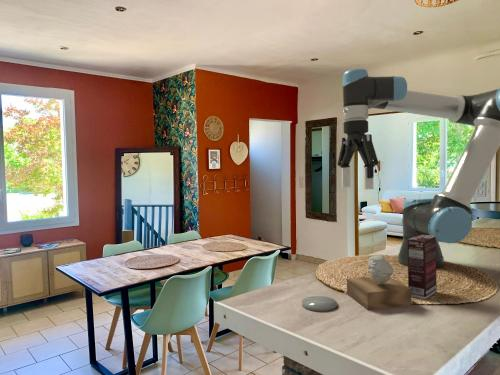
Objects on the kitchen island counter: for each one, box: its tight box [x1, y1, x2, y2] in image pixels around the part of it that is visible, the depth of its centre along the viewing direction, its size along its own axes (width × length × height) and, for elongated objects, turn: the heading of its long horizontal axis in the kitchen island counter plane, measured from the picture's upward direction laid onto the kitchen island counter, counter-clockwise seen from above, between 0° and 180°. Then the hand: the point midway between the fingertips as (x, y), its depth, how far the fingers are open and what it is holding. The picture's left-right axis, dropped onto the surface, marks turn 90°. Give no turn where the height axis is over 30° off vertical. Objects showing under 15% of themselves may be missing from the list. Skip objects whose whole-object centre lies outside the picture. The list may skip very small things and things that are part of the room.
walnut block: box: [346, 276, 412, 311], centre depth 102 cm, size 12×12×5 cm
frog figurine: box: [367, 254, 394, 283], centre depth 100 cm, size 6×7×7 cm
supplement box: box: [407, 235, 438, 300], centre depth 105 cm, size 9×5×16 cm, turn 135°
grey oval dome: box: [301, 295, 338, 313], centre depth 99 cm, size 9×9×1 cm
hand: (356, 188), depth 121 cm, fingers open, 13 cm apart
